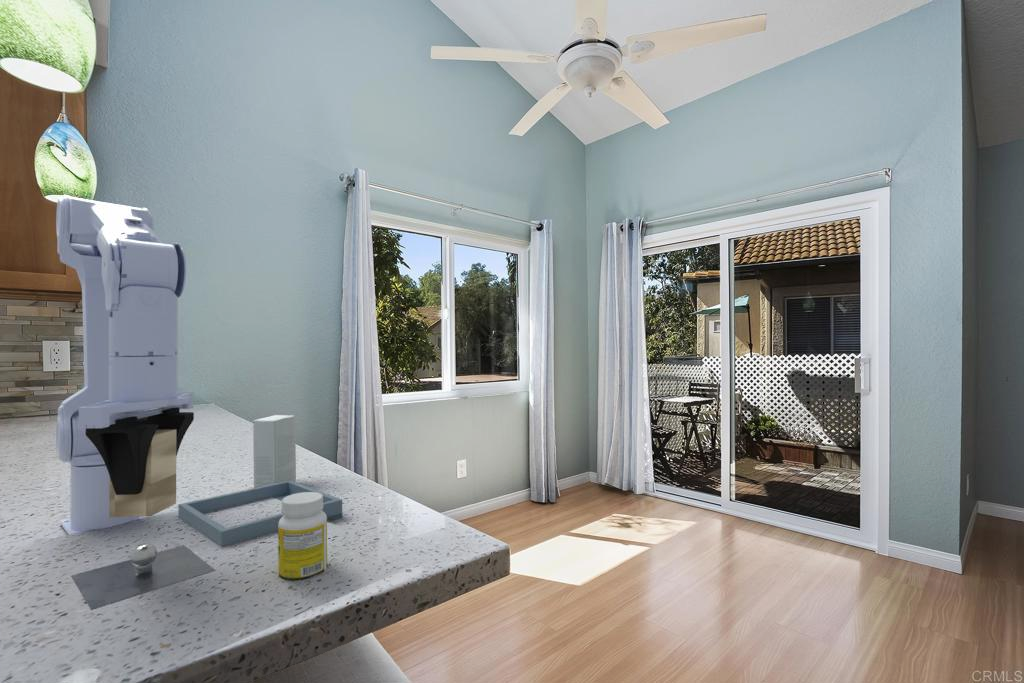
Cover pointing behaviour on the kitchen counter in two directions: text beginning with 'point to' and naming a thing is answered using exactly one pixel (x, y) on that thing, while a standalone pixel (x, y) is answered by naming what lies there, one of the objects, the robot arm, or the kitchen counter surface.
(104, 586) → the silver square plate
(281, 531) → the supplement bottle
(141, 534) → the kitchen counter surface
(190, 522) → the bin
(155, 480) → the strut
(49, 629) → the kitchen counter surface
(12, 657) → the kitchen counter surface
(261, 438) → the skincare box
